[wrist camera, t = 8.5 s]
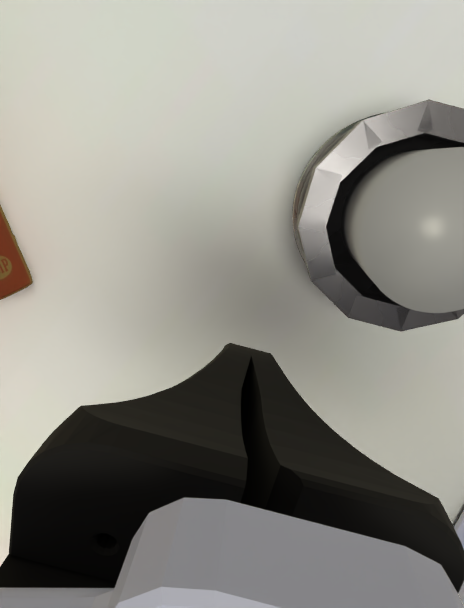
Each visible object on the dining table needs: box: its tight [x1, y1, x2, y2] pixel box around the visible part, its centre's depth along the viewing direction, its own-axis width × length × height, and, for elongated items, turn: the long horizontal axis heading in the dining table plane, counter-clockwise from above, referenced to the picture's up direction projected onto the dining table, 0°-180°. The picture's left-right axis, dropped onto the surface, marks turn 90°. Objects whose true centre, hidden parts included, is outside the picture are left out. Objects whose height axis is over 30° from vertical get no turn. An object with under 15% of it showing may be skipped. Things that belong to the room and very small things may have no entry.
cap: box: [341, 147, 464, 313], centre depth 14 cm, size 5×5×4 cm
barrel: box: [292, 100, 464, 331], centre depth 18 cm, size 8×8×5 cm
